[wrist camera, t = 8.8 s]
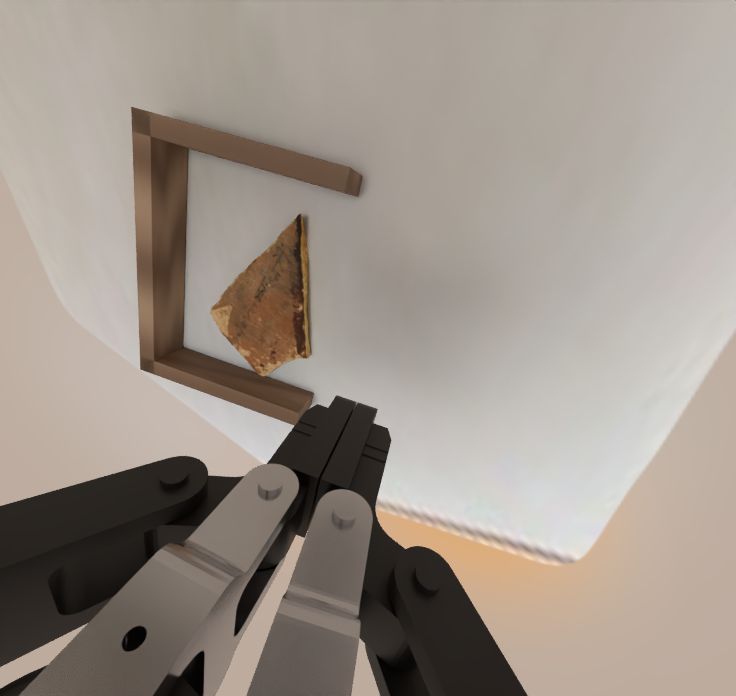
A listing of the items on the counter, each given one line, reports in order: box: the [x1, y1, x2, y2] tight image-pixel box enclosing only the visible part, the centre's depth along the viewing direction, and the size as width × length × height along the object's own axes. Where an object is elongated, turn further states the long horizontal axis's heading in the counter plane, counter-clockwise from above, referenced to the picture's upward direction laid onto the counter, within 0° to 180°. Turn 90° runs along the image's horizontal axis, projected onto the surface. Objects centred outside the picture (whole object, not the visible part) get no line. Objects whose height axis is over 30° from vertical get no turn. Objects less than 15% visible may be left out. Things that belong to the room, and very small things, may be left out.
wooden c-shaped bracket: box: [131, 107, 362, 425], centre depth 22 cm, size 17×13×3 cm
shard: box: [211, 214, 310, 376], centre depth 23 cm, size 11×8×2 cm
